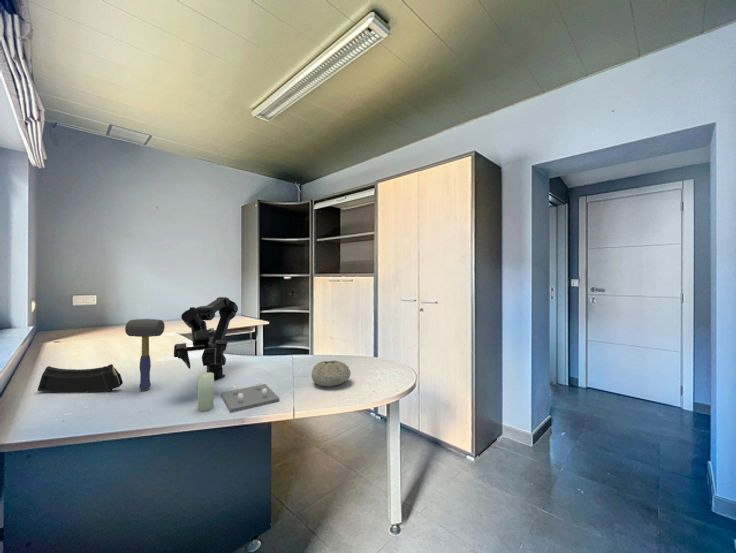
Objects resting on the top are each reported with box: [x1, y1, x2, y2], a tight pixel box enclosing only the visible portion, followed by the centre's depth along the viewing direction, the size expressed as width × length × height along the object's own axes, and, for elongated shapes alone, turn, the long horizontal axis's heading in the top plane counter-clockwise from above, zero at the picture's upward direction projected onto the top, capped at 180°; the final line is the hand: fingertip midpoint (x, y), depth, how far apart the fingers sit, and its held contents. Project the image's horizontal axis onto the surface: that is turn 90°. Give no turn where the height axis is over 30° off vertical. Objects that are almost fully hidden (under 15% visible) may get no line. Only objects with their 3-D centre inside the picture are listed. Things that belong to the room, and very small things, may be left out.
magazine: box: [37, 363, 124, 394], centre depth 127 cm, size 17×3×30 cm
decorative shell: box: [311, 360, 352, 387], centre depth 142 cm, size 18×18×10 cm
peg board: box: [220, 381, 280, 413], centre depth 124 cm, size 18×18×4 cm
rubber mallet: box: [124, 318, 166, 391], centre depth 130 cm, size 12×8×30 cm, turn 96°
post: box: [197, 372, 215, 412], centre depth 115 cm, size 5×5×12 cm
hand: (203, 366), depth 121 cm, fingers open, 9 cm apart
